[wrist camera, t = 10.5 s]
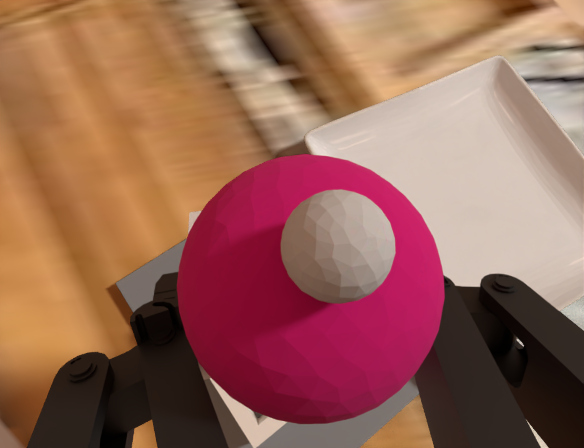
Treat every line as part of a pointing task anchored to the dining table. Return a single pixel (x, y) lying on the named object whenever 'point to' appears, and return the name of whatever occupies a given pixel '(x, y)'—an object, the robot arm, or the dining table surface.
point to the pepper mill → (310, 289)
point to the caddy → (254, 426)
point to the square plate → (478, 175)
